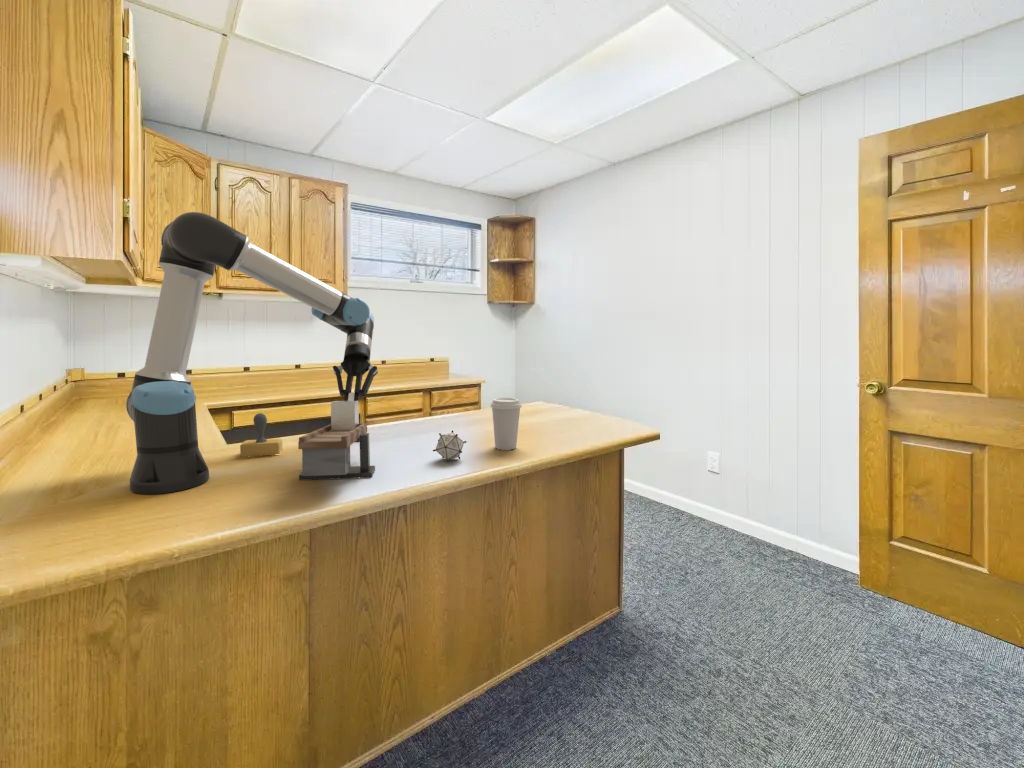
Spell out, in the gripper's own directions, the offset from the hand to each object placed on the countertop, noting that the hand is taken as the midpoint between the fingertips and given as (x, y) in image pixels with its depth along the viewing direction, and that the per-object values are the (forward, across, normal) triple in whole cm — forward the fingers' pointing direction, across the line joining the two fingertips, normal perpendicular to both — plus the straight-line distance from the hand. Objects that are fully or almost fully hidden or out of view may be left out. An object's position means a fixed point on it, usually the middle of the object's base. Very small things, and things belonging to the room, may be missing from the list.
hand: (349, 414), depth 134 cm
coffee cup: (+4, -45, -14) cm, 47 cm away
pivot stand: (+20, 0, +2) cm, 20 cm away
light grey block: (+6, 0, +1) cm, 6 cm away
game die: (+13, -27, -5) cm, 31 cm away
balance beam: (+18, 0, +5) cm, 18 cm away
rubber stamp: (+4, +26, -15) cm, 30 cm away
